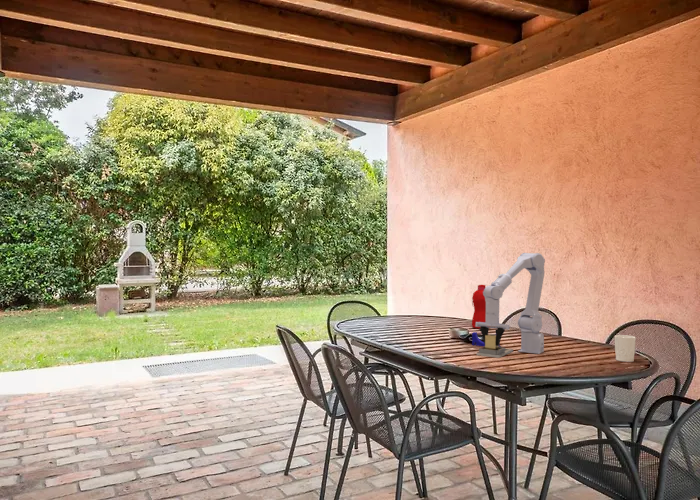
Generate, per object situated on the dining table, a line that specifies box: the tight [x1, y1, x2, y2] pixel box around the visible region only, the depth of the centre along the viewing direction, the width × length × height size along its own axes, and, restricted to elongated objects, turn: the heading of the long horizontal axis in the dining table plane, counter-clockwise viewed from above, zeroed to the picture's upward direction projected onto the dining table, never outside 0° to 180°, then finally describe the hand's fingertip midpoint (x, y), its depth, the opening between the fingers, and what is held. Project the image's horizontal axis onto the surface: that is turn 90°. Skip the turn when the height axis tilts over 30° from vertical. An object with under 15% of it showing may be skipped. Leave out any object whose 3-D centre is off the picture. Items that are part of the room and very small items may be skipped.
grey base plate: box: [476, 346, 514, 359], centre depth 247 cm, size 10×18×3 cm, turn 146°
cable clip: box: [471, 331, 501, 347], centre depth 267 cm, size 12×4×6 cm, turn 64°
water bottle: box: [471, 284, 487, 330], centre depth 324 cm, size 9×11×25 cm
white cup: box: [614, 334, 636, 363], centre depth 235 cm, size 8×8×10 cm
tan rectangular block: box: [485, 333, 500, 350], centre depth 244 cm, size 4×4×6 cm
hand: (491, 344), depth 244 cm, fingers closed on tan rectangular block, 5 cm apart
